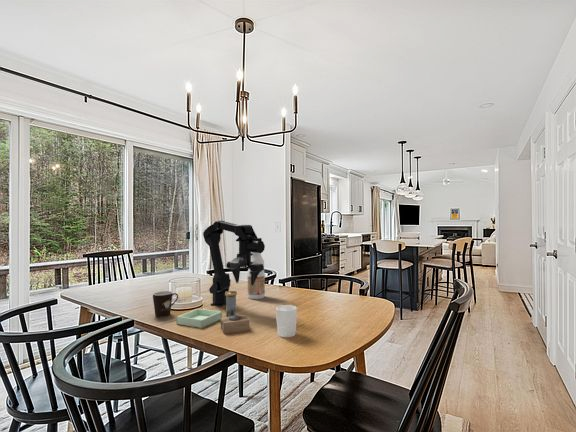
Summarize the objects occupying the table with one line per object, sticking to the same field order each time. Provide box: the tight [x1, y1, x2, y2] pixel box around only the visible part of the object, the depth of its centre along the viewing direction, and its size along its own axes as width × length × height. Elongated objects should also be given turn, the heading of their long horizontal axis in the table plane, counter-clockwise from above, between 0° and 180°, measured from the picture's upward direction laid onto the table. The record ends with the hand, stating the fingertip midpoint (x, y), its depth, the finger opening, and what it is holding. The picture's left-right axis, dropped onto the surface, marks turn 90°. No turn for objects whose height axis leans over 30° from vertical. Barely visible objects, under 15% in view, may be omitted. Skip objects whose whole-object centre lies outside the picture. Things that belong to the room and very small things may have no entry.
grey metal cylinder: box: [225, 290, 238, 317], centre depth 138 cm, size 5×5×13 cm
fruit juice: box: [247, 252, 266, 300], centre depth 183 cm, size 9×9×28 cm
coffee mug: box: [152, 290, 179, 318], centre depth 152 cm, size 12×9×10 cm
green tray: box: [176, 308, 223, 329], centre depth 141 cm, size 13×13×3 cm
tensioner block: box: [220, 314, 250, 334], centre depth 131 cm, size 7×10×5 cm
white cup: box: [275, 304, 298, 338], centre depth 124 cm, size 8×8×10 cm
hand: (244, 284), depth 157 cm, fingers open, 9 cm apart
